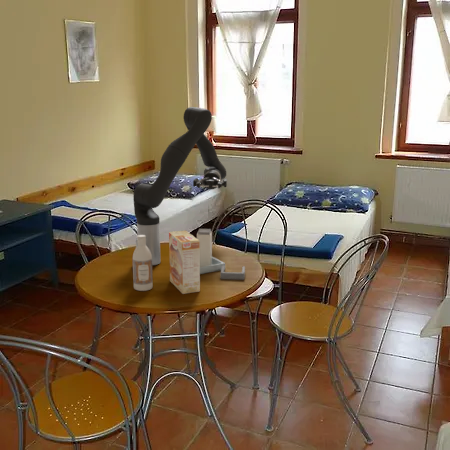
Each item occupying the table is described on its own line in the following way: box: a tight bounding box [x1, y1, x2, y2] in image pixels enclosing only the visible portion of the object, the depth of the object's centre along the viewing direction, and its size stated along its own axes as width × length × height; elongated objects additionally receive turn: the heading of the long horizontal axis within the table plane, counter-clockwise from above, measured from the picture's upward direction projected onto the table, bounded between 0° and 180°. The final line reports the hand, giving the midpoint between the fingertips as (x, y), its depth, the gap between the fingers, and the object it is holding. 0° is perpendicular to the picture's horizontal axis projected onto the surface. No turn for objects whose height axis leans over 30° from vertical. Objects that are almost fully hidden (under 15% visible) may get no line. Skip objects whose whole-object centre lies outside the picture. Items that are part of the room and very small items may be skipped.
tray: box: [200, 256, 226, 275], centre depth 224 cm, size 14×14×3 cm
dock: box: [220, 265, 246, 281], centre depth 215 cm, size 8×9×2 cm
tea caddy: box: [196, 228, 213, 267], centre depth 223 cm, size 6×6×15 cm
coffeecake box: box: [168, 230, 201, 295], centre depth 201 cm, size 15×7×20 cm, turn 23°
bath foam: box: [132, 235, 154, 292], centre depth 199 cm, size 7×7×20 cm
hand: (208, 185), depth 227 cm, fingers open, 8 cm apart
